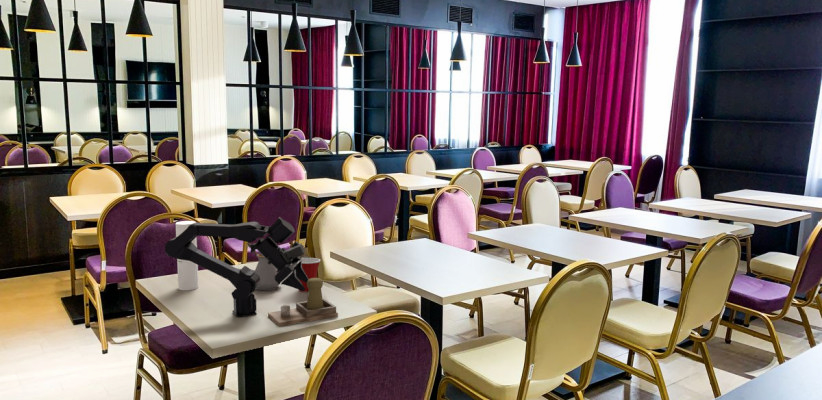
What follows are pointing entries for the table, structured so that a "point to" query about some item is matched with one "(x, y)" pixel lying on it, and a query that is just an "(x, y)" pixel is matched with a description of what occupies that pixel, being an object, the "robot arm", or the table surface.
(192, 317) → the table surface
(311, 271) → the plastic cup
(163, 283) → the table surface
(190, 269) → the cylindrical container
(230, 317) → the table surface
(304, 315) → the cruet holder
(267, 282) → the coffee pot
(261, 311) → the table surface
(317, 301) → the cork
